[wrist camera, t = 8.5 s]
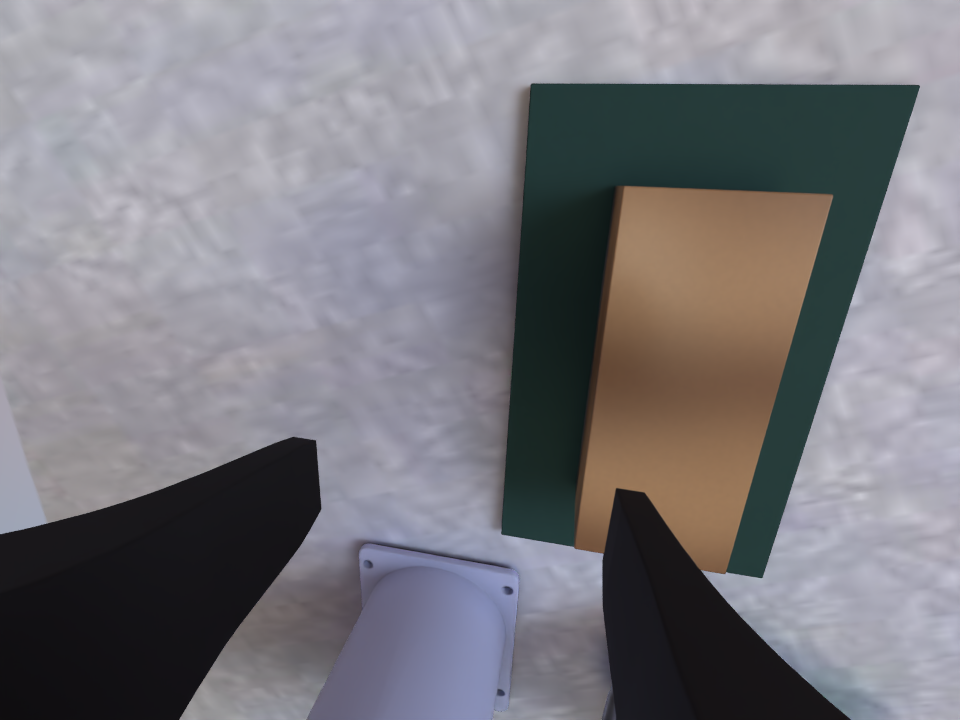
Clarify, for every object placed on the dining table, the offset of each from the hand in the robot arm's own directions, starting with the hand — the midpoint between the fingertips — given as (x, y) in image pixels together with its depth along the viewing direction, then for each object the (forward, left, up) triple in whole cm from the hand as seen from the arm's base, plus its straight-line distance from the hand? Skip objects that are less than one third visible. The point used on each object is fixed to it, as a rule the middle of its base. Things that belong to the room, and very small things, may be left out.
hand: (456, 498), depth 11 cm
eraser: (+1, -6, -8) cm, 10 cm away
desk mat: (+1, -6, -9) cm, 10 cm away
